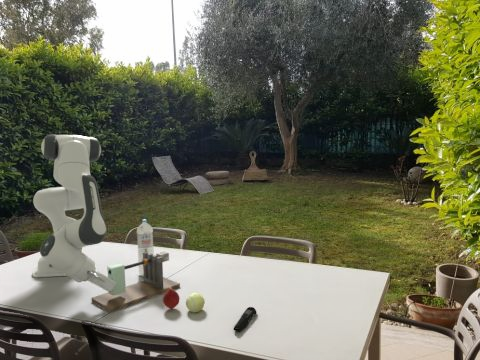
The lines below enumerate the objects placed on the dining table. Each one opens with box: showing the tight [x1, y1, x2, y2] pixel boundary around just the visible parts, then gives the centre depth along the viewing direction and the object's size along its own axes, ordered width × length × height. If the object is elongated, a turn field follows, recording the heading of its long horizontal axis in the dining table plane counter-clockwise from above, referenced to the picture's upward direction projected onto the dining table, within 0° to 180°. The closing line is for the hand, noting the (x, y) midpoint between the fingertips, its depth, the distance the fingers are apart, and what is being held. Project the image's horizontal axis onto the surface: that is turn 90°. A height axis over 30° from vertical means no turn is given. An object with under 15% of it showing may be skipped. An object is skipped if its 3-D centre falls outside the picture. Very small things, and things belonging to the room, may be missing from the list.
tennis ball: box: [185, 292, 205, 313], centre depth 141 cm, size 6×7×7 cm
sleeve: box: [106, 262, 126, 296], centre depth 149 cm, size 5×4×10 cm
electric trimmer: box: [233, 306, 257, 332], centre depth 132 cm, size 4×16×3 cm, turn 158°
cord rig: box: [90, 251, 181, 314], centre depth 155 cm, size 31×14×14 cm, turn 137°
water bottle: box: [136, 218, 155, 278], centre depth 176 cm, size 7×7×25 cm
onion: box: [162, 287, 181, 310], centre depth 142 cm, size 6×6×8 cm
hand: (109, 287), depth 147 cm, fingers closed, pressing on sleeve
